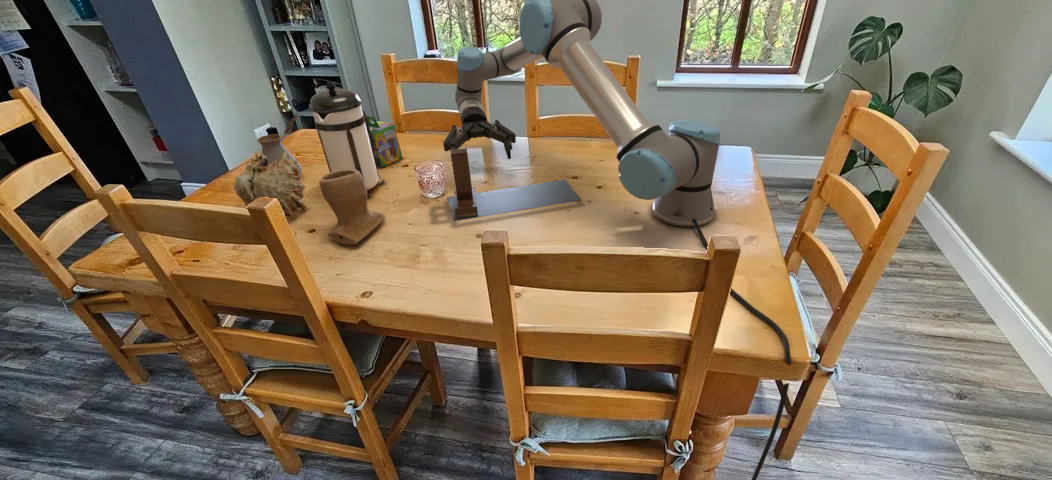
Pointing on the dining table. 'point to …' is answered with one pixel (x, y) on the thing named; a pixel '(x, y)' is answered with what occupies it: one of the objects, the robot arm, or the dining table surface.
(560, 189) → the slate board
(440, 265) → the dining table surface
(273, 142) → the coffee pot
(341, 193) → the clay platform pipe
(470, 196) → the brown upright slab stand
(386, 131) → the chalk box
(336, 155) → the coffee press
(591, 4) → the robot arm
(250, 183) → the seashell
